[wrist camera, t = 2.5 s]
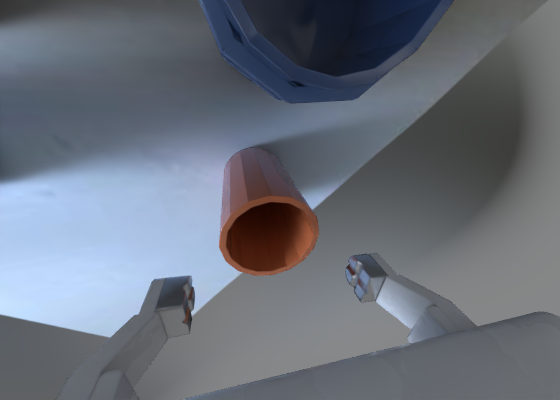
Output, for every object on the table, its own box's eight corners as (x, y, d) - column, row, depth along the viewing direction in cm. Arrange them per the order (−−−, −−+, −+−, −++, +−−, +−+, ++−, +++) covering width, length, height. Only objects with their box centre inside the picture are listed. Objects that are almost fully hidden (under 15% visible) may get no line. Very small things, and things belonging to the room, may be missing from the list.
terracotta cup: (242, 135, 18) (253, 177, 10) (293, 166, 21) (337, 220, 12) (213, 187, 20) (201, 261, 12) (263, 210, 23) (283, 284, 14)
